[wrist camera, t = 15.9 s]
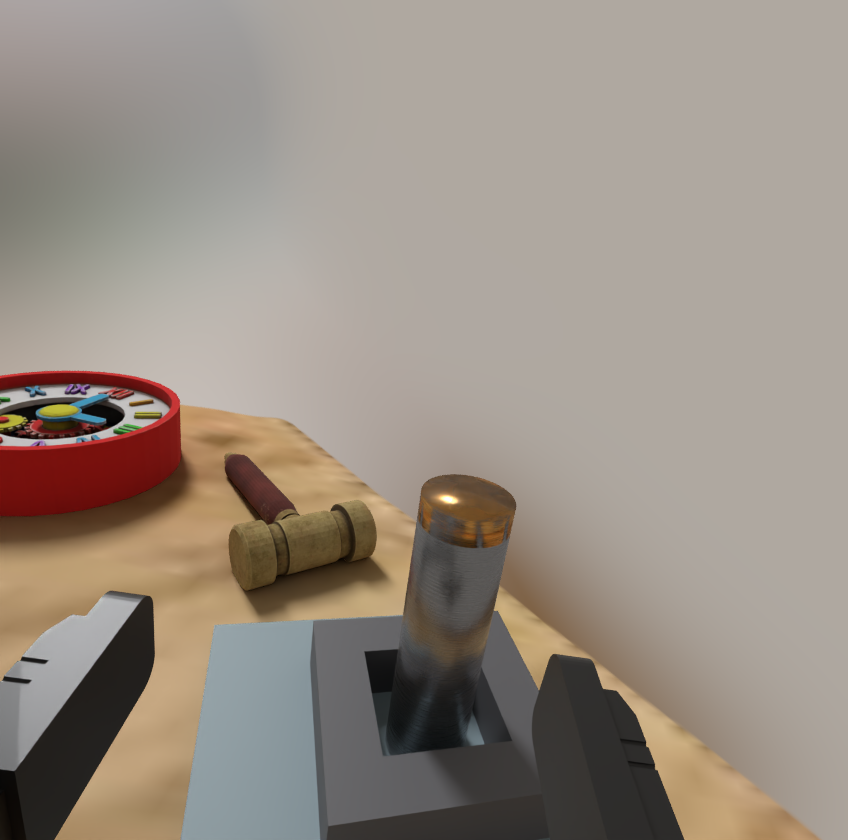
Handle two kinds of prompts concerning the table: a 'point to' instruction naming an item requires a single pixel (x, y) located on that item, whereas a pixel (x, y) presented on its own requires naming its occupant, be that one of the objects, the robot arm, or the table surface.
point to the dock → (260, 736)
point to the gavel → (291, 531)
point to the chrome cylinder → (447, 611)
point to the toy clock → (83, 440)
